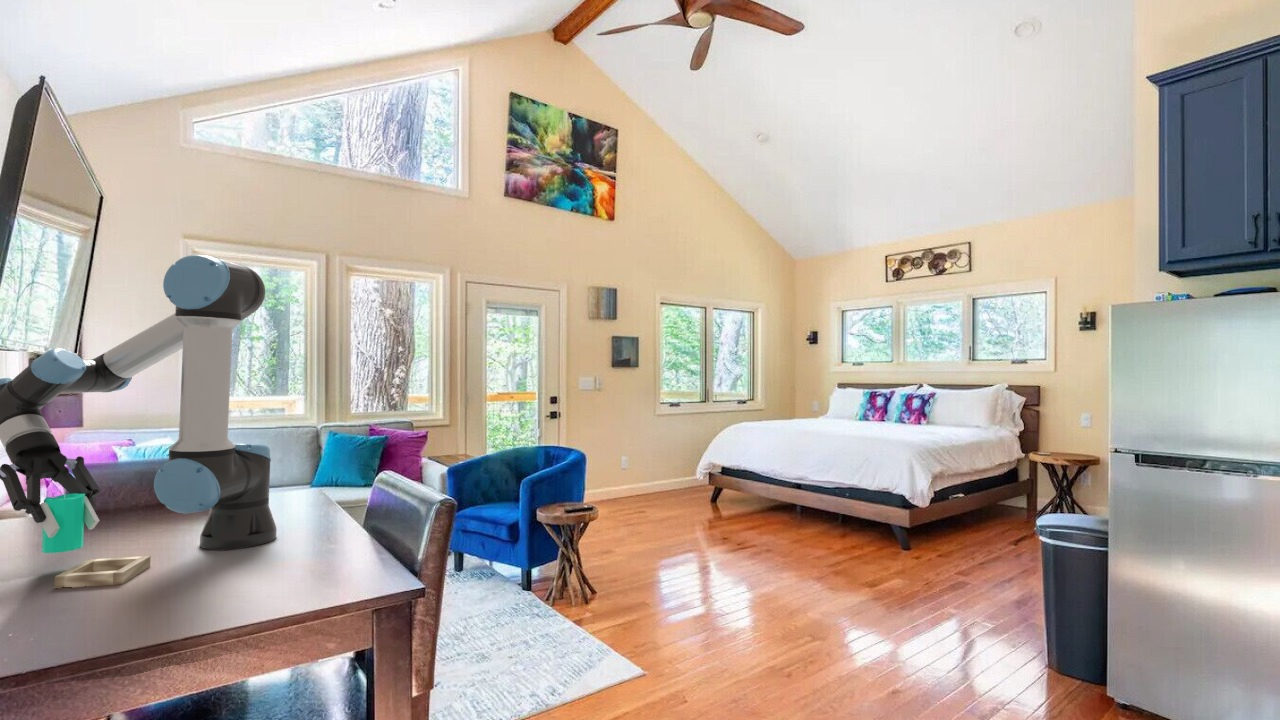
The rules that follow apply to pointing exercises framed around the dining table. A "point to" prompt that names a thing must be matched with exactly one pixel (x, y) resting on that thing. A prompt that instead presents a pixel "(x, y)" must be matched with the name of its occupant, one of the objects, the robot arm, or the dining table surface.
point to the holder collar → (102, 572)
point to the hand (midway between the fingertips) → (74, 528)
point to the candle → (65, 523)
